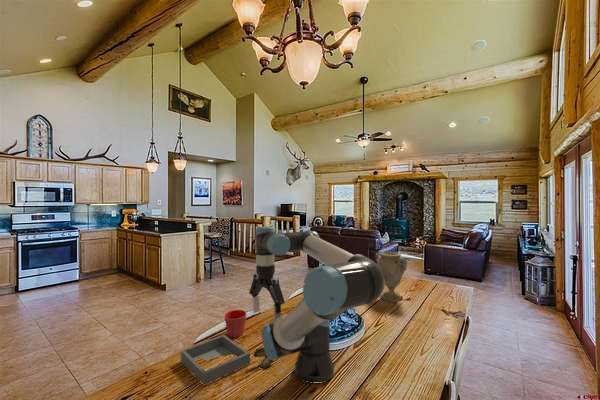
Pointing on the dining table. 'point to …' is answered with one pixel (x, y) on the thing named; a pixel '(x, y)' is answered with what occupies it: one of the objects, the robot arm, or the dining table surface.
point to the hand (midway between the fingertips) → (266, 316)
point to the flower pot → (235, 322)
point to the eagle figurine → (266, 360)
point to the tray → (214, 349)
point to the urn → (391, 273)
